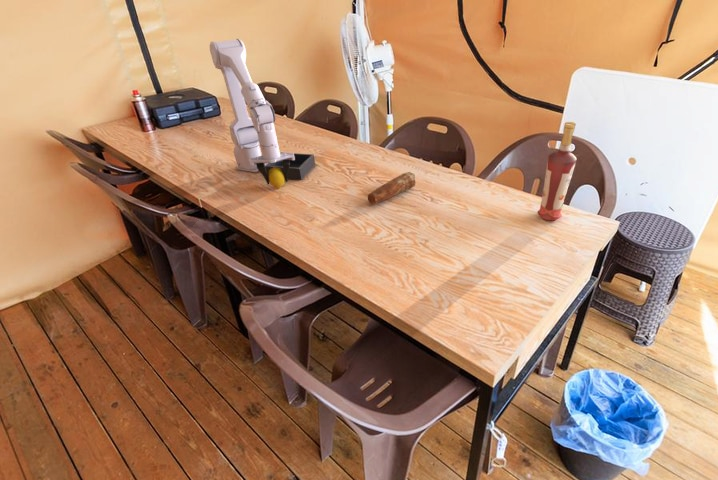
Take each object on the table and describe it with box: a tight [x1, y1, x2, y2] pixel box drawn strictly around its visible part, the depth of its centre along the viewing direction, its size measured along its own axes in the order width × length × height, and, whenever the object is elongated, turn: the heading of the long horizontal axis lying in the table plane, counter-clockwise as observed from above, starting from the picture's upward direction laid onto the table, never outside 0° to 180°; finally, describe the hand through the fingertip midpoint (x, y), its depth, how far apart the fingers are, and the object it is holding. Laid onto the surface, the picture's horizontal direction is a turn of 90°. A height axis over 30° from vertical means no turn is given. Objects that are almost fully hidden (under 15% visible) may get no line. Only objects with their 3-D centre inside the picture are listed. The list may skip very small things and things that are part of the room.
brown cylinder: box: [367, 171, 416, 206], centre depth 133 cm, size 6×19×6 cm, turn 133°
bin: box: [265, 152, 316, 181], centre depth 151 cm, size 14×14×4 cm
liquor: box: [537, 121, 577, 222], centre depth 112 cm, size 7×7×28 cm
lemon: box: [268, 167, 286, 189], centre depth 138 cm, size 6×6×8 cm
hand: (277, 182), depth 139 cm, fingers closed on lemon, 5 cm apart
